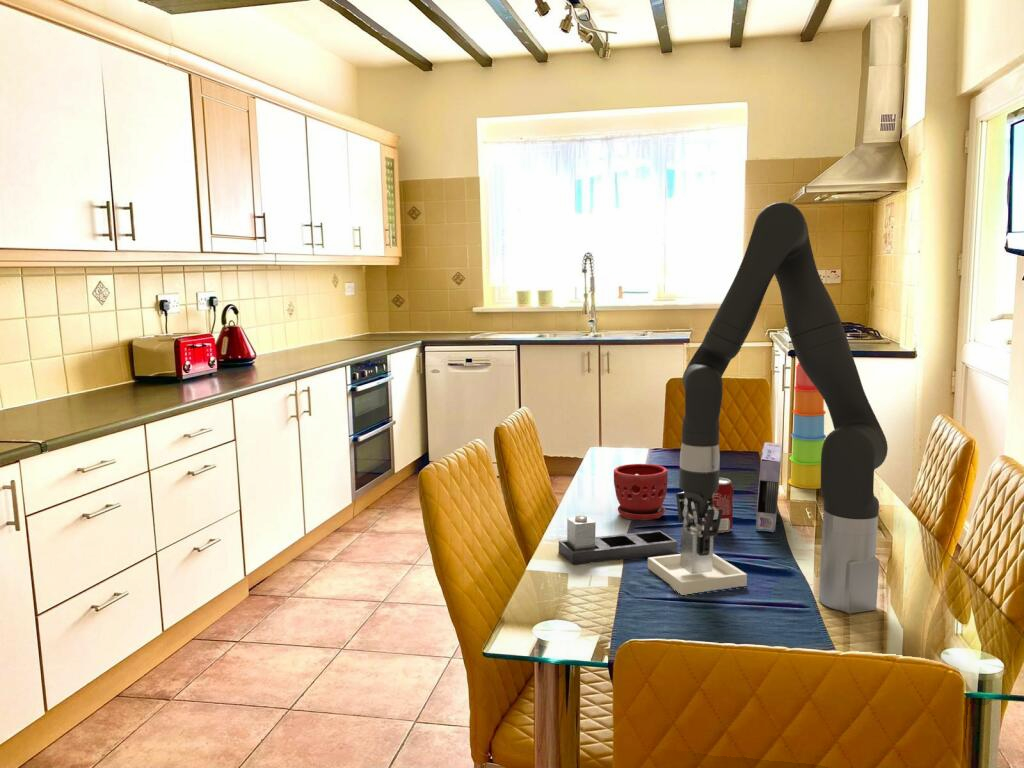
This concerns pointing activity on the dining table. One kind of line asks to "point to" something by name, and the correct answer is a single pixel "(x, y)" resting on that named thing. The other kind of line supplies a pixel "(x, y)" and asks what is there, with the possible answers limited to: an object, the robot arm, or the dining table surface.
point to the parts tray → (696, 575)
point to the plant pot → (641, 490)
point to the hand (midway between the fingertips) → (696, 550)
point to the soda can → (724, 504)
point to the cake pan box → (768, 486)
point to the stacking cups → (807, 433)
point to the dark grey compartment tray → (621, 547)
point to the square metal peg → (580, 533)
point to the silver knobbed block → (694, 552)
